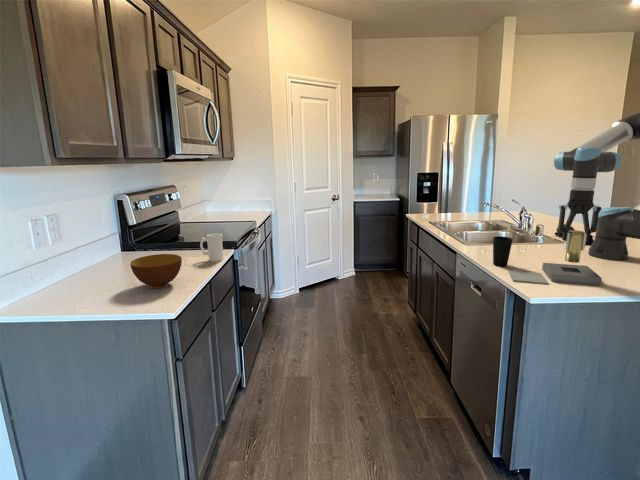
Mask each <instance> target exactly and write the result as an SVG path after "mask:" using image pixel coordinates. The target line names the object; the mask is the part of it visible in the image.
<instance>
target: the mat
mask: <svg viewBox="0 0 640 480" xmlns="http://www.w3.org/2000/svg"><path fill="white" fill-rule="evenodd" d="M508 274H509V276H510V278H511V280H512V282H513V281H514V282H515V283H525V282H526V283H527V284H537V285H549V282H548V280H547V278H545V276H544V275H543V274H542V273H541V272H529V271H527V272H526V271H514V270H508Z"/></svg>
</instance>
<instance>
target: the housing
mask: <svg viewBox="0 0 640 480" xmlns="http://www.w3.org/2000/svg"><path fill="white" fill-rule="evenodd" d="M541 270H542V271H543V273H544V274H545V276H547V278H548V279H549V280H550V281H551V283H562V284H563V283H564V284H575V285H576V284H577V285H585V286H586V285H588V286H601V285H602V280H603V278H602V277H601V276H600V275H599V274H598V273H596V272H595V271H594V270H593V269H591V267H589V266H588V265H582V264H581V265H579V264H570V263H568V264H565V263H555V262H554V263H553V262H551V263H550V262H542V269H541Z"/></svg>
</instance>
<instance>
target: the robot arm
mask: <svg viewBox="0 0 640 480" xmlns="http://www.w3.org/2000/svg"><path fill="white" fill-rule="evenodd" d="M634 140H640V111H639V112H635V113H633V114H630V115H628V116H625V117H623V118H621V119H619V120H617V121H616V122H614V123H612V124H611V125H610V126H609V128H608V129H606V130H605V131H603V132H601V133H599V134H597V136H596V135H595V137H593V138H591V139H589V140H587V141H586V142H584V143H582V144H581V145H579V146H577V147H576V148H573V149H571V150H569V151H560V152H558V153H556V155H555V156H554V159H553V166H554V168H555V169H556V170H557V171H558V170H559V171H565V172H567V171H568V172H570V171H571V172H572V178H571V184H570V188H571V189H570V192H569V198H568V201H567V203H565V204H559V206H558V207H559V208H558V209H559V219H558V223H557V228H558V229H559V230H560V231H562V232H563V236H562V240H563V242H564V243H563V249H565V250H568V245H569V238H570V233H569V232H568V231H569V229H570V226H571V227H572V224H573V221H574V220H575V218H576V216H577V215H581V216H582V222H583V230H584V232H585V233H584V235H583V241H582V248H581V252H583V251H585V249H586V245H585V242H588V241H589V235H592V234H594V233H595V236H594V238H593V240H594V241H593V243H592V244H591V245H590V247H589V248H588V252H587V253H588V255H589V256H591V257H594V258H598V259H603V260H609V261H610V260H613V261H624V260H623V259H626V260H628V259H629V251H628V245H627V238H629V239H635V240H640V201H638V205H636V206H635V207H633V209H632V207H629V206H619V207H618V206H616V207H614V206H613V207H602V206H599V205H595V203H594V197H595V190H594V189H596V185H597V176H598V173H611V172H615V171H616V170H618V169H619V168H620V166H621V165H622V157H621V155H620V154H619V153H617V152H613V151H609V150H611V149H612V148H615V147H616V146H617V145H619V144H625V143H627V142H629V141H634ZM567 209H569V211H570V212H569V215H568V218H567V219H566V218H565V217H566V211H568V210H567ZM591 209H592V215H591V222H590V220H589V212H590V210H591ZM565 219H566V222H565ZM564 224H565V226H564ZM563 227H564V228H563ZM627 258H628V259H627Z"/></svg>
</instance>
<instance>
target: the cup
mask: <svg viewBox="0 0 640 480" xmlns="http://www.w3.org/2000/svg"><path fill="white" fill-rule="evenodd" d="M513 241H514V240H513V238H511V237H508V236H498V235H497V236H493V237H492V265H493V264H494V265H495V267H498V266H500V267H499V268H506V267H508V262H509V258H510V253H511V249H512V244H513ZM494 265H493V266H494Z"/></svg>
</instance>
